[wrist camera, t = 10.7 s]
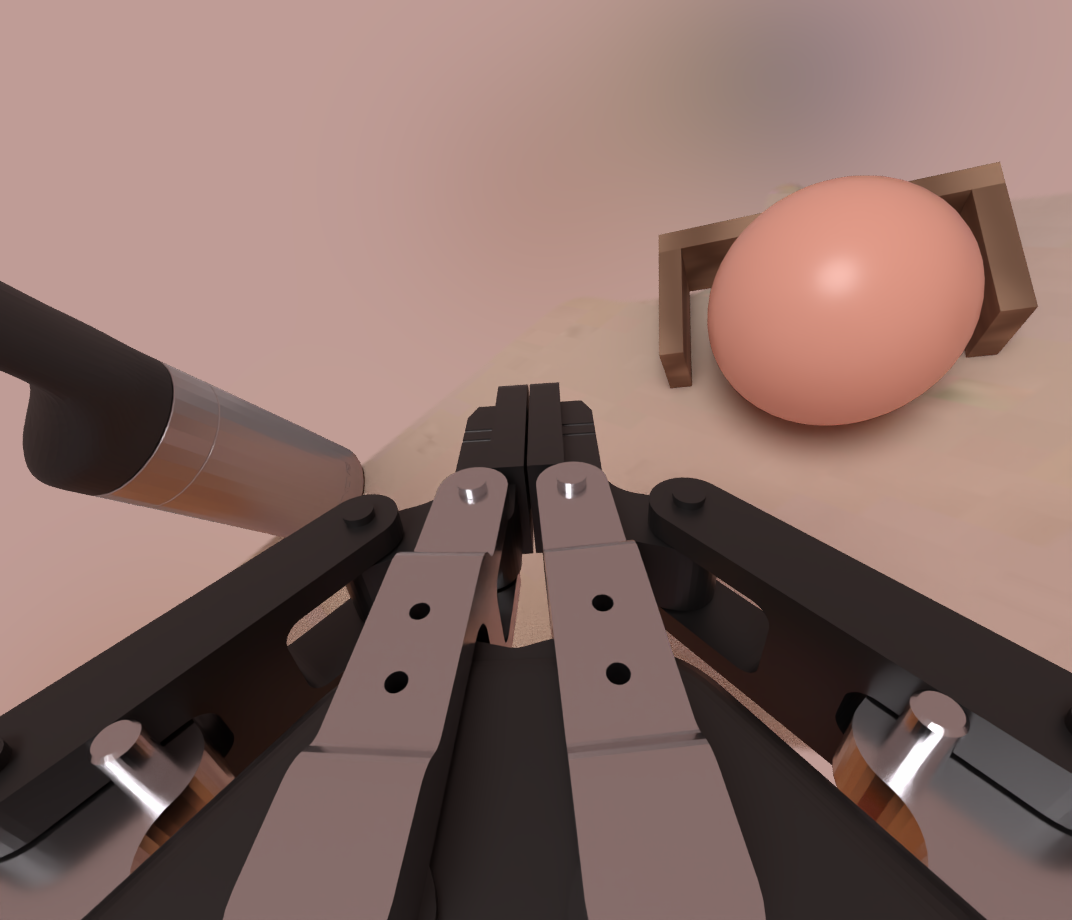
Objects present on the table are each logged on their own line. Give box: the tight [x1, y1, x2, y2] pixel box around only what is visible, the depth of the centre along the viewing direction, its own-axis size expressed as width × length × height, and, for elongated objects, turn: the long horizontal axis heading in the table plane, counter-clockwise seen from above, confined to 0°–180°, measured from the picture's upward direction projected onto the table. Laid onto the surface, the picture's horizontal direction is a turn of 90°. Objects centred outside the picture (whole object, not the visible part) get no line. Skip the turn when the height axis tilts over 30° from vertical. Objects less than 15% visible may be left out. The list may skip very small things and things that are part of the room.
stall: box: [659, 162, 1038, 388], centre depth 33 cm, size 19×10×5 cm, turn 87°
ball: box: [707, 176, 985, 425], centre depth 29 cm, size 13×13×13 cm
